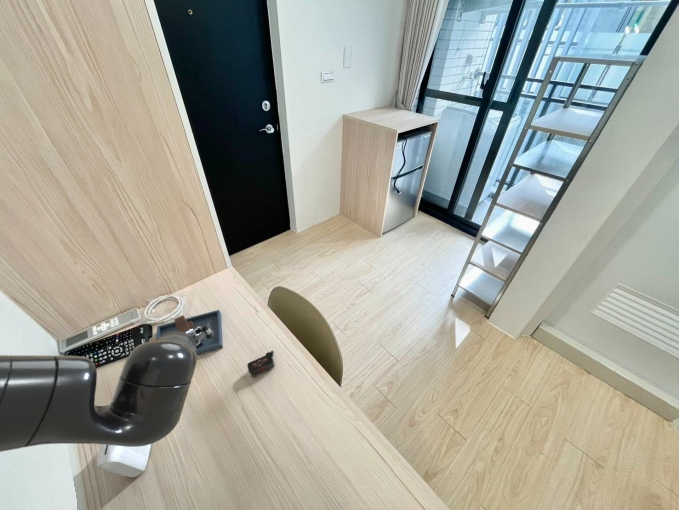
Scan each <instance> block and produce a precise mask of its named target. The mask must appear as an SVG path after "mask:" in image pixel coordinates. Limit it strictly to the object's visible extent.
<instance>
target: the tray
mask: <svg viewBox="0 0 679 510" xmlns="http://www.w3.org/2000/svg"><path fill="white" fill-rule="evenodd" d="M185 319H186V320H187V321H188V322H190V321H192V322H193V324H194V325H195V327H197V326H198V327H199V326H203V325H204V324H205V323H206V322H209V323H210V325H211V327H212V329H213V331H214V335H213V336H212V338H210V339H205V338H203V339H201V341H202V344H203V345H202V346H200V347H198V348H196V354H197V356H200V355H204V354H206V353H210V352H214V351H218V350H220V349H223V348H224V343H223V326H222V325H223V324H222V323H223V322H222V313H221V310H220V309H216V310H212V311H209V312H205V313H201V314H198V315H194V316H190V317H187V318H186V317H185ZM172 331H178V329H177V326H176V324H175V321H172V322H171V321H170V322H168V323H167V322H166V323H164V324H160V325H157V327H156V334H155V340H156V339H157V338H158V337H160V336H161V335H163V334H165V333H168V332H172Z"/></svg>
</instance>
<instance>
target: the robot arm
mask: <svg viewBox="0 0 679 510" xmlns="http://www.w3.org/2000/svg"><path fill="white" fill-rule="evenodd" d="M213 335H214V331H213V329H212V327H211V325H210V323H209V322H206V323H205V324H204V325H203V326H199V327H198V326H197V327H195V328H194V329H191V330H189V331H187V332H185V333H184V332H180V331H172V332H168V333H165V334H163V335H161V336H160V337H158V338H157V339H156V338H155V340H151V341H146V342H143V343H141V344H138V345H137V346H135V347H134V348H133V349H132V350H131V351H130V353H129V355H128V357H127V359H126V360H125V362H124V365H123V367H122V371H121V372H120V376H119V378H118V381H117V384H116V387H115V390H114V393H113V394H112V398H111V401H110V402H109V404H107V405H96V391H97V382H98V372H97V371H98V370H97V366H96V364H95V362H94V361H93V360H92V359H90V358H89V357H86V356H80V355H79V356H78V355H28V354H27V355H26V354H25V355H23V354H22V355H20V354H19V355H18V354H16V355H14V354H11V355H8V354H6V355H5V354H0V453H2V452H9V451H13V450H19V449H23V448H25V449H26V448H30V447H35V446H36V447H37V446H42V445H60V444H63V445H64V444H66V445H67V444H68V445H69V444H70V445H71V444H76V445H77V444H78V445H79V444H81V445H100V444H105V445H115V446H127V447H139V446H146V445H149V444H151V445H152V444H155V443H157V442H158V441H160V440H162V439H164V438H166V437H167V436H168V435H169V434H170V433H172V431H174V430H175V428H176V426H177V425H178V423H179V421H180V419H181V416H182V413H183V411H184V406H185V402H186V399H187V396H188V393H189V390H190V386H191V384H192V380H193V377H194V373H195V370H196V366H197V363H198V362H197V361H198V355H197V354H196V346H197V345H198V344H200V340H201V339H203V338H205V339H210V338H212V336H213Z"/></svg>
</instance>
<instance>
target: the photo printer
mask: <svg viewBox="0 0 679 510" xmlns="http://www.w3.org/2000/svg"><path fill="white" fill-rule="evenodd" d="M151 449H152V444H149V445H146V446H139V447H127V446H115V445H105V444H99V448H98V453H97V459H96V467H97V468H98V469H100V470H102V471H105V472H110V473H112V474H115V475H119V476H122V477H128V478H137V477H138V476H140V475H141V474H143V472H145V471H146V467H147V465H148V462H149V461H148V460H149V457H150V452H151Z"/></svg>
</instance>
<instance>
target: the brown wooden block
mask: <svg viewBox="0 0 679 510" xmlns="http://www.w3.org/2000/svg"><path fill="white" fill-rule="evenodd" d="M173 322H175V324H176V326H177V329H178V331H180V332H184V333H185V332H187V331H189V330H191V329H194V328H195V325H194V324H193V322H192V321H190V322H188V321H187V320H186V317H185V316H184V315H183V314H182V315H180V316H178V317H176V318H174V319H173ZM202 345H203V344H202V341H201V340H200V344H198V345H197V346H196V348H198V347H200V346H202Z"/></svg>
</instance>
